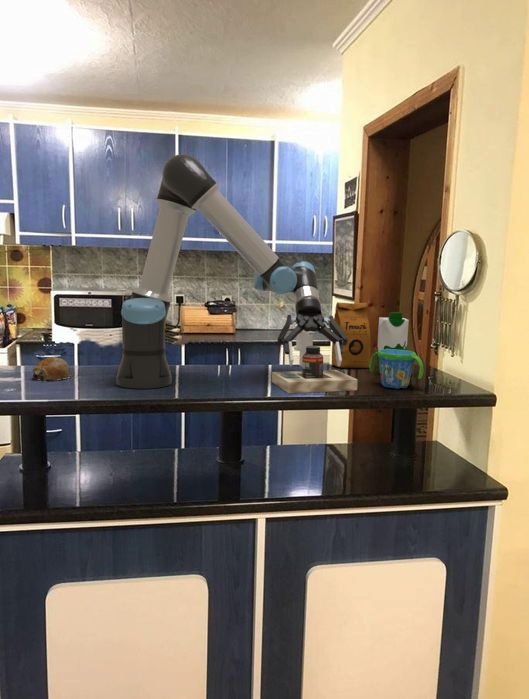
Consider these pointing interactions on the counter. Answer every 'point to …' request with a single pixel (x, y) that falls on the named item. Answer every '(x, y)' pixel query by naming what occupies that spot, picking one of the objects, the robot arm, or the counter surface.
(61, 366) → the bread roll
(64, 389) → the counter surface
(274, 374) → the birch socket block
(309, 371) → the supplement bottle
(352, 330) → the coffee package
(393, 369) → the snack cup
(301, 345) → the pale grey stepped figure
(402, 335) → the milk carton
